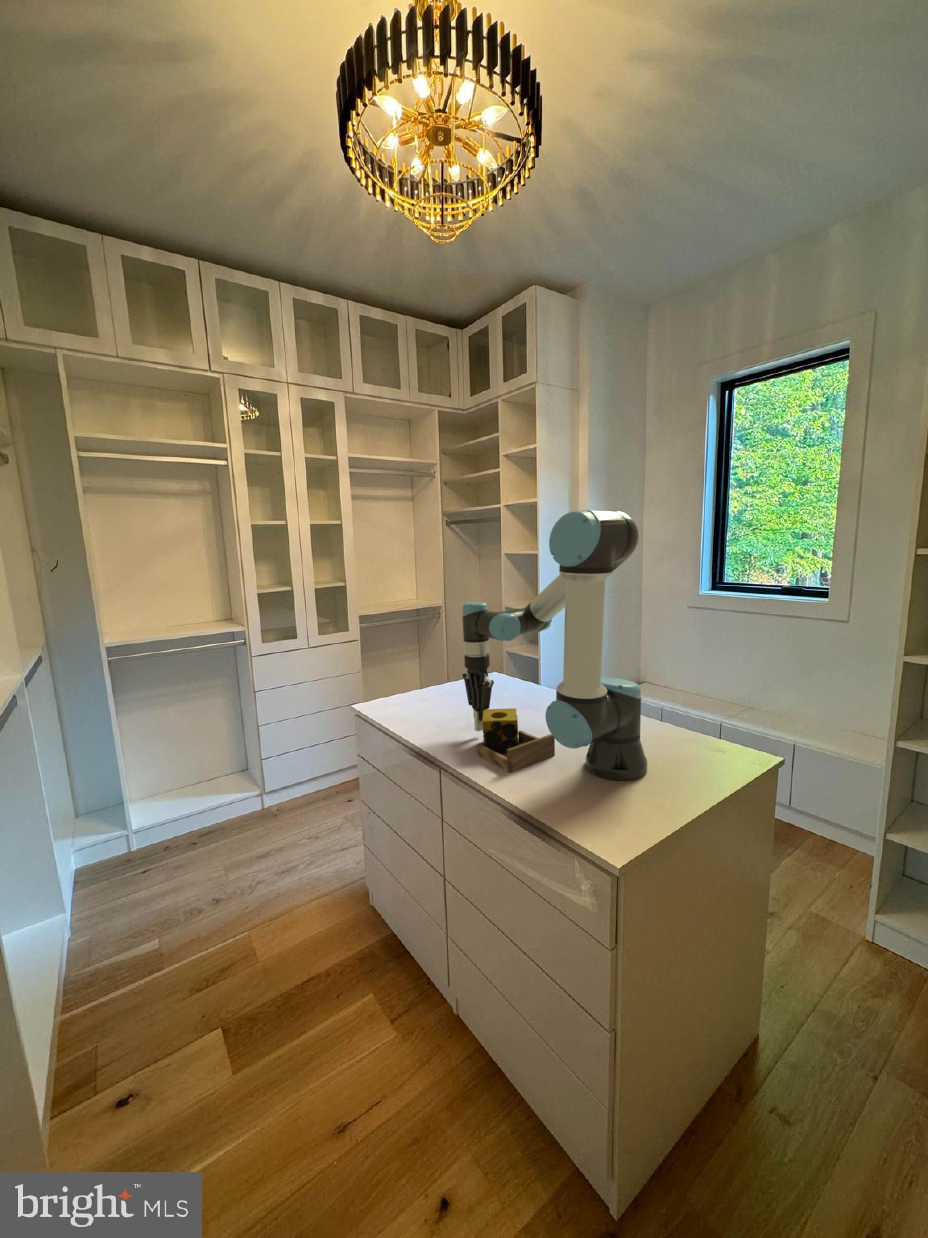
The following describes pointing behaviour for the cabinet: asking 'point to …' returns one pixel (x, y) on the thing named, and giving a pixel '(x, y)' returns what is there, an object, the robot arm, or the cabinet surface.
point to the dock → (521, 752)
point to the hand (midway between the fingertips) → (479, 729)
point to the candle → (500, 729)
